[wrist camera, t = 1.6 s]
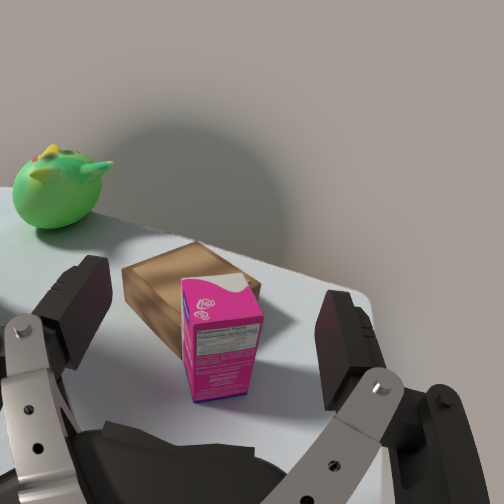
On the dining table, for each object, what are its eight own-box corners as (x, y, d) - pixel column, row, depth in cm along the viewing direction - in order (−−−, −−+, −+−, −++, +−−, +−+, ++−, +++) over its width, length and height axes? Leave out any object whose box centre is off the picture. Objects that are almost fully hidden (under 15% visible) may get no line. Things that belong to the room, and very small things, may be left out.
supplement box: (180, 360, 33) (180, 275, 27) (232, 354, 35) (246, 270, 29) (190, 405, 28) (192, 322, 22) (248, 395, 30) (269, 314, 24)
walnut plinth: (124, 300, 39) (121, 267, 36) (195, 270, 47) (197, 239, 44) (181, 359, 33) (181, 325, 30) (255, 314, 41) (261, 281, 38)
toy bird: (82, 197, 63) (79, 133, 56) (121, 223, 56) (120, 146, 48) (10, 222, 50) (1, 152, 43) (35, 258, 43) (21, 170, 35)
